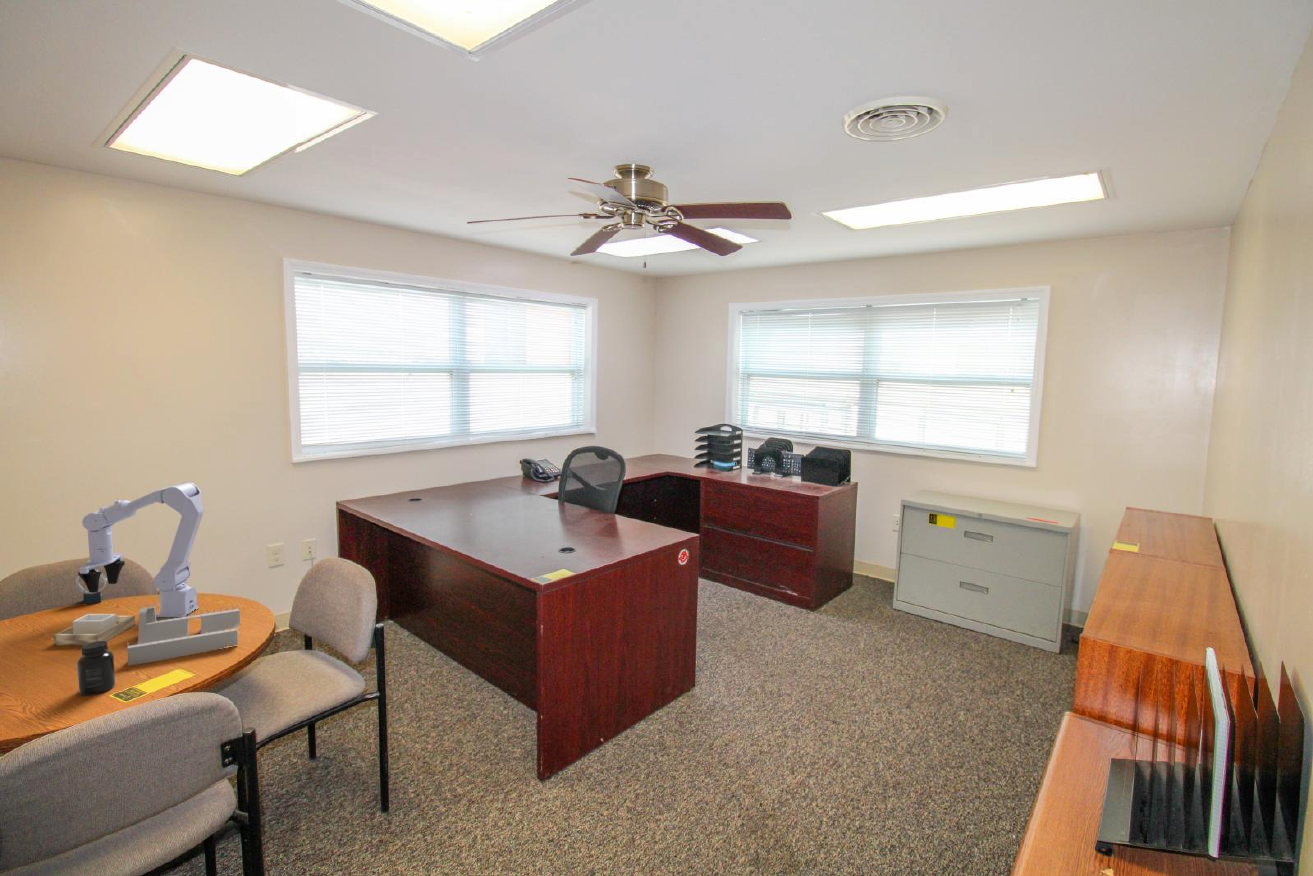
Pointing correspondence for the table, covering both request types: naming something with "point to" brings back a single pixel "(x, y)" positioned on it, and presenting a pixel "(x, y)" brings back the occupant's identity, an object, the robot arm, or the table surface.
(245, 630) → the table surface
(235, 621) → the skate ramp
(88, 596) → the watch
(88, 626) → the small crate
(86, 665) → the supplement bottle
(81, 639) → the shallow wooden tray
